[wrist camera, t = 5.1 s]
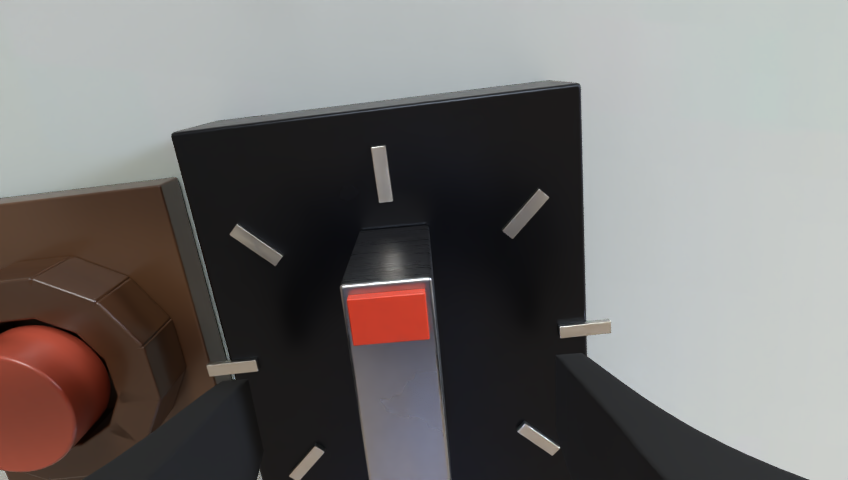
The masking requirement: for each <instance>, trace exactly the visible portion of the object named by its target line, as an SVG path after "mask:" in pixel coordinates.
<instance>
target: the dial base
mask: <svg viewBox="0 0 848 480" xmlns="http://www.w3.org/2000/svg"><path fill="white" fill-rule="evenodd" d="M171 137H172V141H173V145H174V148H175V152H176V156H177V160H178V163H179V167H180V171H181V175H182V178H183V182H184V186H185V190H186V193H187V197H188V201H189V205H190V209H191V212H192V216H193V220H194V224H195V227H196V231H197V235H198V239H199V242H200V246H201V250H202V254H203V258H204V261H205V265H206V269H207V273H208V276H209V280H210V284H211V288H212V291H213V295H214V299H215V303H216V307H217V310H218V314H219V318H220V322H221V325H222V329H223V333H224V337H225V340H226V344H227V348H228V352H229V355H230V359H231V361H221V362H212V363H208V364H207V370H208V373H209V376H220V375H229V374H235V378H236V380H240V379H248V380H249V385H250V389H251V394H252V399H253V404H254V408H255V413H256V418H257V422H258V427H259V432H260V436H261V441H262V446H263V450H264V452H263V456H262V460H261V464H260V472H261V476H262V480H369V476H368V470H367V463H366V457H365V450H364V444H363V437H362V431H361V424H360V417H359V411H358V404H357V398H356V391H355V385H354V378H353V372H352V365H351V359H350V352H349V346H348V339H347V333H346V326H345V320H344V313H343V307H342V300H341V294H340V285H341V282H342V279H343V276H344V274H345V271H346V268H347V265H348V263H349V260H350V257H351V254H352V251H353V249H354V246H355V243H356V240H357V238H358V235H359V232H361V231H367V230H378V229H389V228H400V227H412V226H423V225H426V226H428V227H429V234H430V245H431V256H432V267H433V278H434V289H435V300H436V311H437V321H438V332H439V343H440V354H441V365H442V376H443V387H444V398H445V409H446V419H447V430H448V441H449V453H450V465H451V478H452V480H572V479H571V477H570V474H569V472H568V470H567V466H566V463H565V460H564V456H563V453H562V449H561V446H560V442H559V439H558V435H557V431H556V361H555V355H562V354H575V353H583V354H584V355H586V356H587V338H586V336H587V335H596V334H605V333H611V321H610V320H609V319H604V320H595V321H586V294H585V251H584V207H583V164H582V120H581V86H580V84H578V83H572V82H561V81H551V80H547V81H539V82H531V83H523V84H515V85H506V86H498V87H490V88H482V89H474V90H466V91H457V92H449V93H441V94H433V95H425V96H417V97H408V98H400V99H392V100H384V101H376V102H368V103H359V104H351V105H343V106H335V107H327V108H318V109H310V110H302V111H294V112H286V113H278V114H269V115H261V116H253V117H245V118H237V119H229V120H220V121H215V122H211V123H207V124H203V125H199V126H196V127H192V128H188V129H184V130H180V131H177V132H174V133H172V136H171Z"/></svg>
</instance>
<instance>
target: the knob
mask: <svg viewBox="0 0 848 480" xmlns="http://www.w3.org/2000/svg"><path fill="white" fill-rule="evenodd" d="M340 294H341V300H342V307H343V313H344V320H345V326H346V333H347V339H348V346H349V352H350V359H351V365H352V372H353V378H354V385H355V391H356V398H357V404H358V411H359V417H360V424H361V431H362V437H363V444H364V450H365V457H366V463H367V470H368V476H369V480H452V478H451V465H450V453H449V441H448V430H447V419H446V409H445V398H444V387H443V376H442V365H441V354H440V343H439V332H438V321H437V311H436V300H435V289H434V278H433V267H432V256H431V245H430V234H429V227H428V226H426V225H423V226H412V227H400V228H389V229H378V230H367V231H361V232H359V235H358V238H357V240H356V243H355V246H354V249H353V251H352V254H351V257H350V260H349V263H348V265H347V268H346V271H345V274H344V276H343V279H342V282H341V285H340Z"/></svg>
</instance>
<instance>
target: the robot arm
mask: <svg viewBox="0 0 848 480" xmlns="http://www.w3.org/2000/svg"><path fill="white" fill-rule="evenodd" d="M555 361H556V431H557V435H558V439H559V442H560V446H561V449H562V453H563V456H564V460H565V463H566V466H567V470H568V472H569V474H570V477H571V479H572V480H808V479H806V478H803V477H800V476H798V475H795V474H792V473H790V472H787V471H785V470H782V469H779V468H777V467H775V466H772V465H770V464H768V463H765V462H763V461H761V460H758V459H756V458H754V457H751V456H749V455H747V454H744V453H742V452H740V451H738V450H736V449H734V448H731V447H729V446H727V445H725V444H723V443H721V442H719V441H717V440H716V439H714V438H712V437H710V436H708V435H706V434H704V433H702V432H700V431H698V430H696V429H694V428H693V427H691V426H689V425H687V424H686V423H684V422H682V421H680V420H679V419H677V418H675V417H674V416H672V415H671V414H669V413H667V412H666V411H664V410H662V409H661V408H659V407H658V406H656V405H655V404H653V403H652V402H650V401H648V400H647V399H645V398H644V397H642V396H641V395H640V394H638V393H637V392H635V391H634V390H632V389H631V388H630V387H628V386H627V385H625V384H624V383H623V382H621V381H620V380H618V379H617V378H616V377H614V376H613V375H612V374H610V373H609V372H607V371H606V370H605V369H603V368H602V367H601V366H599V365H598V364H597V363H595V362H594V361H593V360H591V359H590V358H589V357H587V356H586V355H584V354H583V353H575V354H562V355H555ZM263 452H264V450H263V446H262V441H261V436H260V432H259V427H258V422H257V418H256V413H255V408H254V404H253V399H252V394H251V389H250V385H249V380H248V379H240V380H227V381H222V382H220V383H218V384H217V385H215V386H214V387H212V388H211V389H209V390H208V391H207V392H205V393H204V394H203V395H201V396H200V397H199V398H197V399H196V400H195V401H193V402H192V403H191V404H189V405H188V406H187V407H185V408H184V409H183V410H181V411H180V412H179V413H177V414H176V415H175V416H173V417H172V418H171V419H169V420H168V421H167V422H165V423H164V424H163V425H161V426H160V427H159V428H158V429H156V430H155V431H153V432H152V433H151V434H149V435H148V436H146V437H145V438H144V439H142V440H141V441H139V442H138V443H136V444H135V445H134V446H132V447H131V448H129V449H128V450H126V451H125V452H123V453H122V454H121V455H119V456H118V457H116V458H115V459H113V460H112V461H110V462H109V463H107V464H106V465H104V466H103V467H101V468H100V469H98V470H96V471H95V472H93V473H92V474H90V475H89V476H87V477H85V478H84V479H82V480H257V476H258V473H259V469H260V464H261V460H262V456H263Z"/></svg>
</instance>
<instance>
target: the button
mask: <svg viewBox="0 0 848 480" xmlns="http://www.w3.org/2000/svg"><path fill="white" fill-rule="evenodd" d="M110 394H111V384H110V378H109V375H108V372H107V370H106V367H105V365H104V364H103V362H102V360H101V359H100V358H99V356H98V355H97V354H96V352H95V351H94V350H93V349H92V348H91V347H90V346H88V345H87V344H86V343H85V342H83V341H82V340H81V339H79V338H78V337H76V336H74V335H72V334H70V333H68V332H66V331H63V330H61V329H57V328H54V327H50V326H44V325H25V326H20V327H15V328H12V329H9V330H7V331H5V332H3V333H1V334H0V470H4V471H10V472H30V471H36V470H40V469H43V468H46V467H48V466H51V465H53V464H55V463H56V462H58V461H60V460H61V459H62V458H63V457H64V456H66V455H67V453H68V452H69V451H70V450H71V449H72V448H73V447H74V446H75V445H76V444H77V442H78V441H79V440H80V439H81V438H82V437H83V436H84V435H85V434H86V433H87V431H88V430H89V429H90V428H91V427H92V426H93V425H94V424H95V423H96V422H97V420H98V419H99V418H100V417H101V416H102V415H103V413H104V412H105V410H106V408H107V406H108V403H109V400H110Z"/></svg>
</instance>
